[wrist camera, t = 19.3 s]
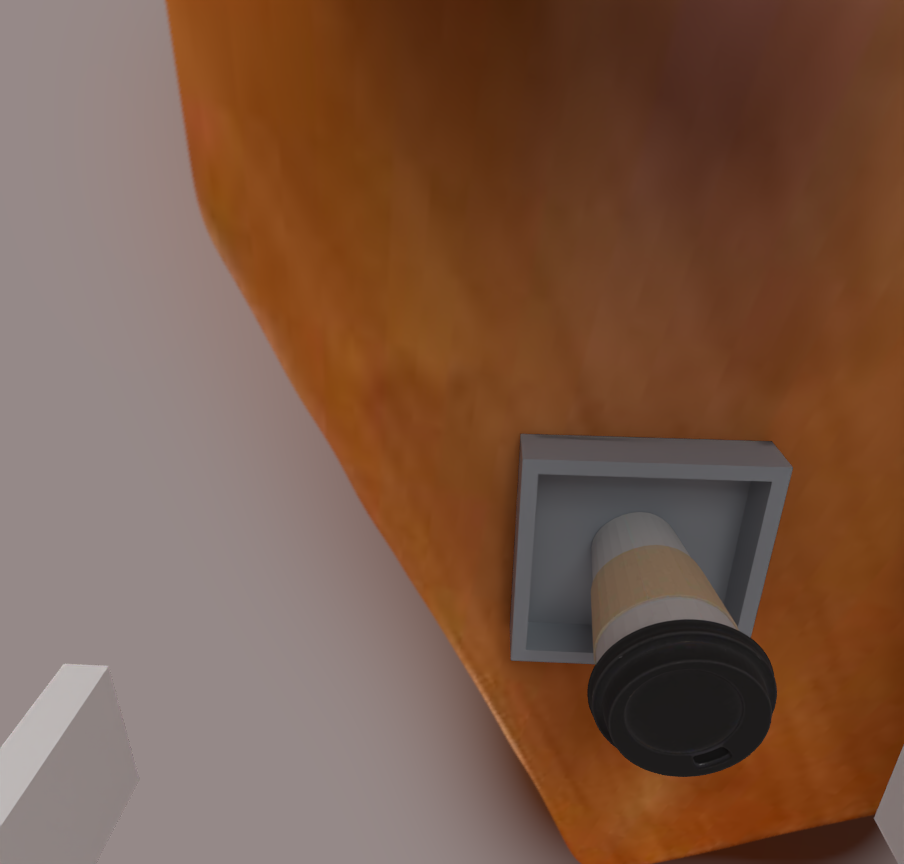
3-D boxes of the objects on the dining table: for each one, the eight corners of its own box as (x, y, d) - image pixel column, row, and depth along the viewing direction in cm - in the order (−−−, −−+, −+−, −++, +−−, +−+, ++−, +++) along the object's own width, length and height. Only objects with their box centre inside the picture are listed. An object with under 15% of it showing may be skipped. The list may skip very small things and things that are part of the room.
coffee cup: (645, 622, 51) (701, 812, 37) (537, 562, 49) (554, 739, 35) (734, 530, 47) (831, 703, 33) (620, 462, 45) (674, 616, 32)
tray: (520, 433, 45) (522, 458, 42) (771, 441, 45) (792, 467, 42) (509, 626, 52) (510, 660, 49) (727, 635, 52) (742, 670, 49)
